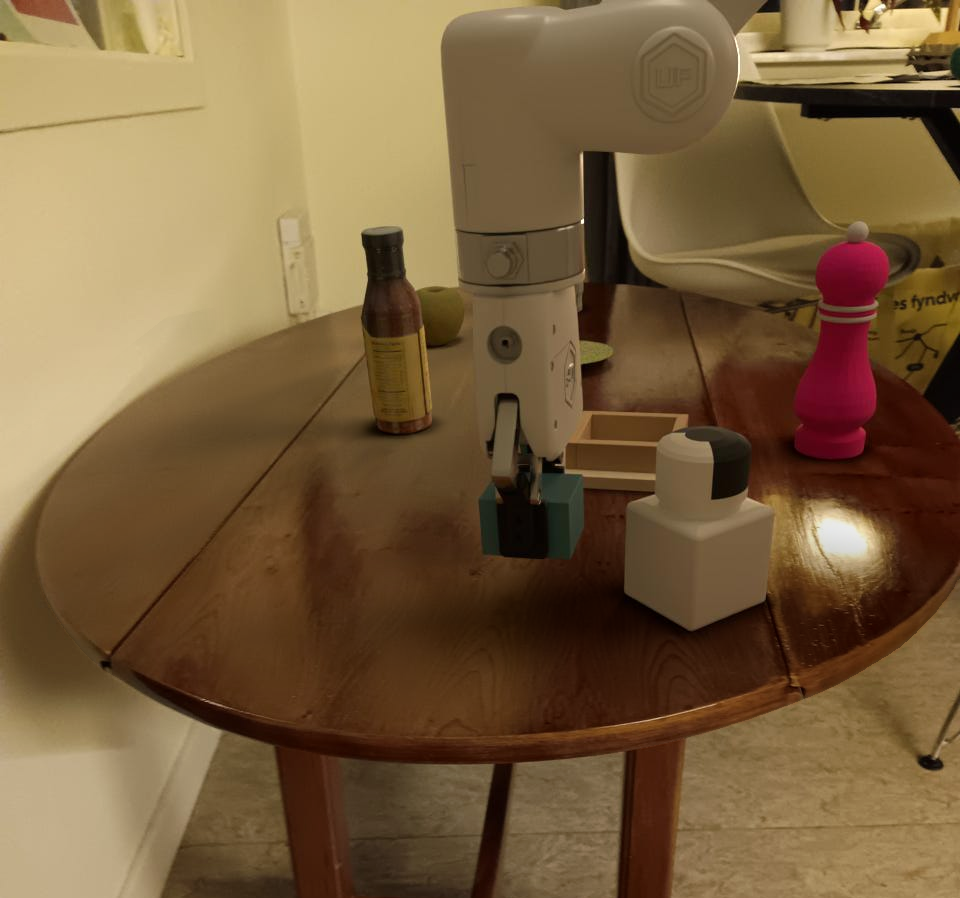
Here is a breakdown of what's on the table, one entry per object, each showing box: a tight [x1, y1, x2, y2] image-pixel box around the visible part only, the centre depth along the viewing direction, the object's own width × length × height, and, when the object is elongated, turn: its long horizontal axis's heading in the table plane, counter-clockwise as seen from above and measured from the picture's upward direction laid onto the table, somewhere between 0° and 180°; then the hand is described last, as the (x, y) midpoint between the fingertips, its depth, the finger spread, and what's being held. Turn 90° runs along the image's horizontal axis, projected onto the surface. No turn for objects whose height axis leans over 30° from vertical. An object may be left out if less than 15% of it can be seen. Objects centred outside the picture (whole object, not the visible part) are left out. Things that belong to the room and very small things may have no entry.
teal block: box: [477, 472, 585, 560], centre depth 67 cm, size 6×5×4 cm
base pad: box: [555, 410, 689, 493], centre depth 91 cm, size 14×12×4 cm
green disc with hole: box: [579, 339, 615, 366], centre depth 121 cm, size 11×11×2 cm
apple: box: [415, 285, 465, 347], centre depth 133 cm, size 8×8×7 cm
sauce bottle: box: [360, 225, 433, 435], centre depth 100 cm, size 6×6×20 cm
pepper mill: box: [792, 220, 890, 460], centre depth 88 cm, size 7×7×20 cm
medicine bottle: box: [623, 425, 776, 632], centre depth 67 cm, size 7×7×12 cm
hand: (534, 535), depth 67 cm, fingers closed on teal block, 5 cm apart
